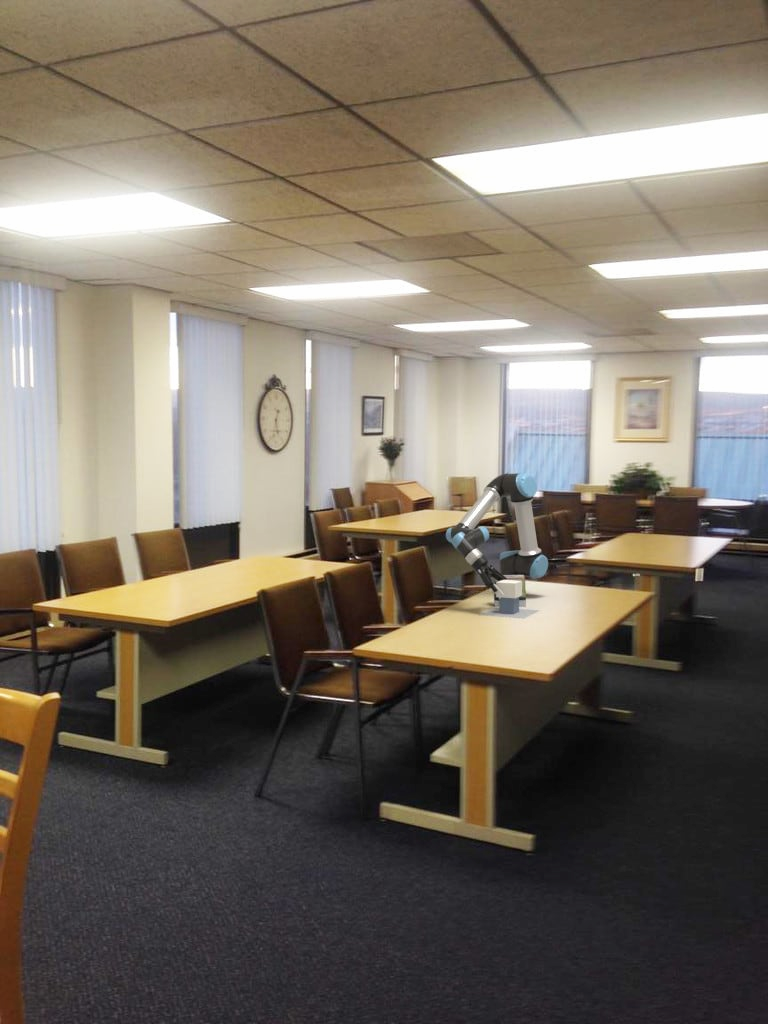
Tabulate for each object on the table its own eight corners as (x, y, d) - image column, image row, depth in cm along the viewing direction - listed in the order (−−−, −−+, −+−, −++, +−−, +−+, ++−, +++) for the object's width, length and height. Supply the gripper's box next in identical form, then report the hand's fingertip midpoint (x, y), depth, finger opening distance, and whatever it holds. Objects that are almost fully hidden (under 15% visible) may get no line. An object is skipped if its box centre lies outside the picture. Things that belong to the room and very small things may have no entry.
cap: (503, 594, 400) (503, 579, 400) (522, 595, 396) (522, 580, 396) (496, 597, 392) (496, 582, 392) (515, 598, 388) (515, 583, 388)
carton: (504, 610, 399) (504, 583, 399) (519, 611, 396) (519, 584, 395) (499, 613, 393) (499, 585, 392) (513, 614, 390) (513, 586, 389)
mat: (495, 608, 410) (495, 607, 410) (540, 611, 399) (540, 610, 399) (477, 615, 390) (477, 614, 390) (524, 619, 380) (524, 618, 380)
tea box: (524, 604, 419) (524, 574, 418) (525, 608, 409) (525, 577, 408) (493, 604, 420) (493, 574, 420) (494, 607, 410) (494, 577, 410)
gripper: (482, 562, 412) (511, 595, 406) (461, 568, 391) (491, 603, 384) (492, 552, 410) (522, 585, 403) (471, 557, 388) (502, 593, 381)
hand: (507, 594), depth 394 cm, fingers open, 13 cm apart
